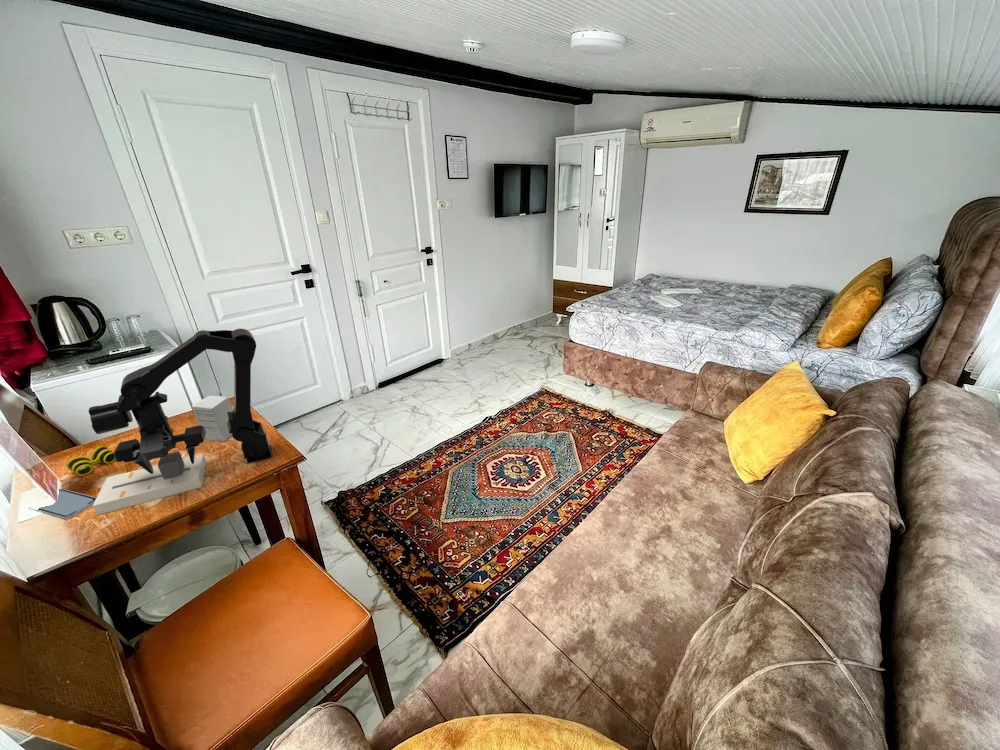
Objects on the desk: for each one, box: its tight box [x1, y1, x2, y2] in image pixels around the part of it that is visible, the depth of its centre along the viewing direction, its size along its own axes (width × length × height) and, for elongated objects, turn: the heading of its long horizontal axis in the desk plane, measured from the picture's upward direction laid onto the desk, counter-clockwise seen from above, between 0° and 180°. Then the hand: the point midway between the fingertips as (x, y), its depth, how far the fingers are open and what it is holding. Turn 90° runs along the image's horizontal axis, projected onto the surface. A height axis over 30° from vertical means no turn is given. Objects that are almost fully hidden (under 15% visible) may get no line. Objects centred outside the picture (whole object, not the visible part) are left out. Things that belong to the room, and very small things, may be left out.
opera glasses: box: [66, 445, 116, 477], centre depth 119 cm, size 10×5×5 cm, turn 156°
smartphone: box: [37, 488, 97, 520], centre depth 106 cm, size 7×1×15 cm
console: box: [92, 454, 207, 516], centre depth 111 cm, size 22×12×3 cm, turn 117°
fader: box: [157, 450, 184, 479], centre depth 111 cm, size 4×5×4 cm
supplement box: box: [191, 395, 234, 442], centre depth 132 cm, size 7×7×13 cm
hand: (173, 467), depth 112 cm, fingers open, 9 cm apart
